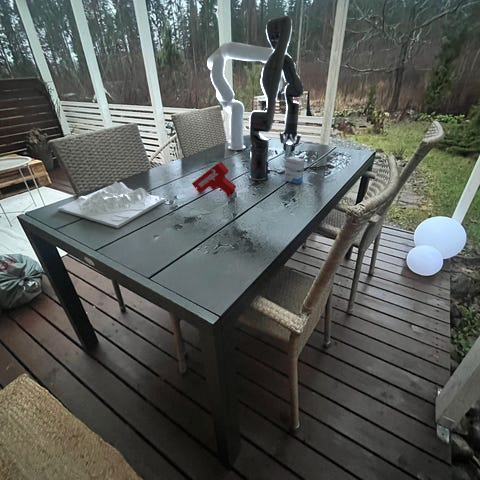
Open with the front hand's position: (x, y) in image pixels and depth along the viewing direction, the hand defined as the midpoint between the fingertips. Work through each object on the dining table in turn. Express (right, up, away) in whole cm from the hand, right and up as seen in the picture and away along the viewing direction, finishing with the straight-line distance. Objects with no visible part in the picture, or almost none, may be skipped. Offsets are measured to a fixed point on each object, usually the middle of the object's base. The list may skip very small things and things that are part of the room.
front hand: (288, 150), depth 170 cm
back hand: (-6, +45, +25) cm, 52 cm away
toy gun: (-43, -33, -39) cm, 67 cm away
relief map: (-87, -41, -51) cm, 108 cm away
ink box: (-2, -25, -27) cm, 37 cm away
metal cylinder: (0, -4, +3) cm, 5 cm away
